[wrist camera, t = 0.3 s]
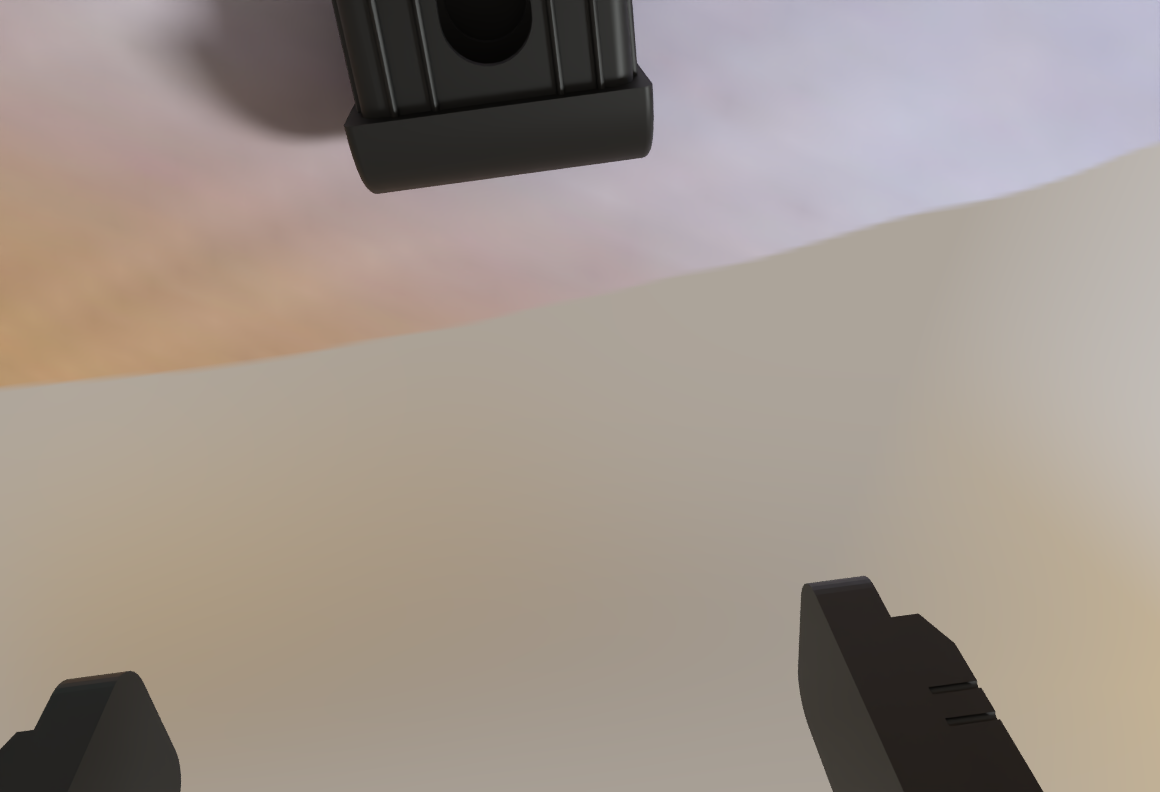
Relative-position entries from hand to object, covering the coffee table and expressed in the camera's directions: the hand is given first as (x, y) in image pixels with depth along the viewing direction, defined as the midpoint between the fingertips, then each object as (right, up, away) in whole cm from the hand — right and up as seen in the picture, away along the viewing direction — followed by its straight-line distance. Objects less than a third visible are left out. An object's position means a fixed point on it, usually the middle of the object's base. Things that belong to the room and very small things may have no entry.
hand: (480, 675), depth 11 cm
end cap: (-2, +17, +24) cm, 29 cm away
